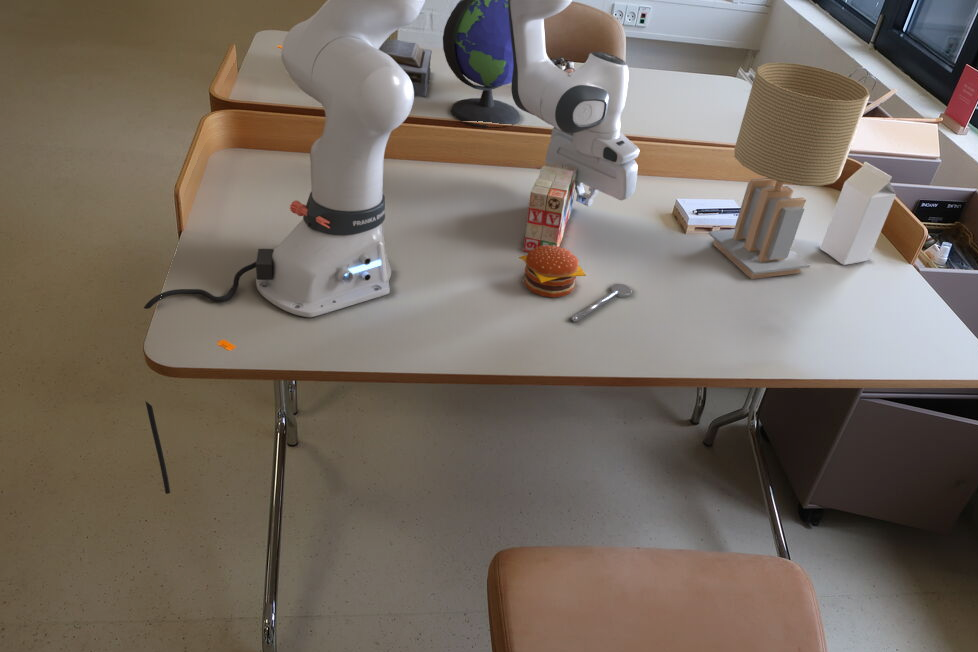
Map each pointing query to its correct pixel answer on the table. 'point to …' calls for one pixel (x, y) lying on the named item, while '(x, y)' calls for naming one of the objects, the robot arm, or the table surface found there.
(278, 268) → the robot arm
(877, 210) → the milk carton
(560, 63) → the cupcake
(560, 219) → the stack of blocks
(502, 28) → the globe
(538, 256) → the hamburger
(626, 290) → the metal handle tool
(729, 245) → the desk lamp
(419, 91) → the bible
